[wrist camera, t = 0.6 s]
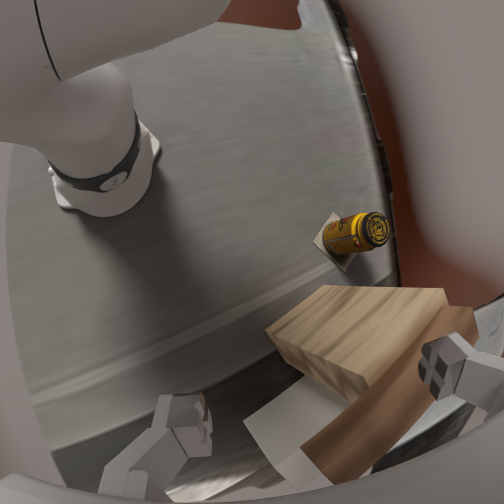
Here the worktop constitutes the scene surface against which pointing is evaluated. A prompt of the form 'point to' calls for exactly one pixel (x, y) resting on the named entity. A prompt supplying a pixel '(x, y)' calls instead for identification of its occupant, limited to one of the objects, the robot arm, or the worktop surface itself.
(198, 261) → the worktop surface
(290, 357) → the stand
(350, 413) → the bar
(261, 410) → the step
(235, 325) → the worktop surface
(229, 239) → the worktop surface
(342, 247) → the condiment
